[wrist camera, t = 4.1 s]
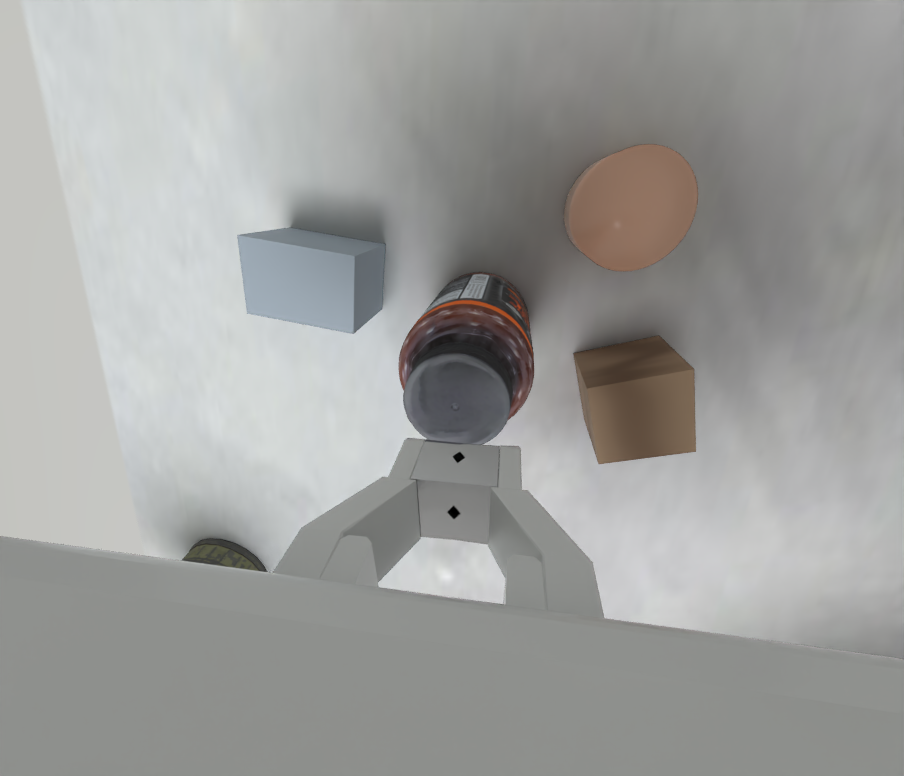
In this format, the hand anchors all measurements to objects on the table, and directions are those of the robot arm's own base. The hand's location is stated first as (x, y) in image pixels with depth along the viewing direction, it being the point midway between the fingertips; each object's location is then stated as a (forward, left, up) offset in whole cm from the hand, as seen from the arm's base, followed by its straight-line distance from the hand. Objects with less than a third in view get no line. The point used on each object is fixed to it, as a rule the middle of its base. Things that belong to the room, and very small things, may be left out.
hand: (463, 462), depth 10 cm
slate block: (+10, -2, -15) cm, 18 cm away
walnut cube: (-8, +5, -15) cm, 18 cm away
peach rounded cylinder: (-6, -5, -15) cm, 17 cm away
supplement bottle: (+1, +1, -15) cm, 15 cm away
